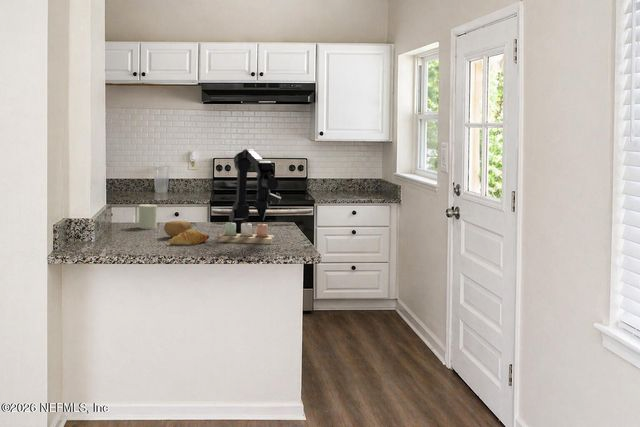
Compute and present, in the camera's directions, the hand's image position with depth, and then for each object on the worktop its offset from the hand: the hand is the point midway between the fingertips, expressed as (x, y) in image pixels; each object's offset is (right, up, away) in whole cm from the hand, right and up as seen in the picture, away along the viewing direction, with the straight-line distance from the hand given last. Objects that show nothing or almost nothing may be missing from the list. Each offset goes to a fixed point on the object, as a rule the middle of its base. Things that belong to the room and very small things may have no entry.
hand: (262, 220), depth 379 cm
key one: (-15, -7, +2) cm, 17 cm away
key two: (-8, -7, +1) cm, 11 cm away
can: (-61, -4, +33) cm, 69 cm away
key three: (0, -7, +1) cm, 7 cm away
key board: (-8, -10, +1) cm, 13 cm away
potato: (-41, -8, +5) cm, 42 cm away
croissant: (-33, -11, -10) cm, 36 cm away
